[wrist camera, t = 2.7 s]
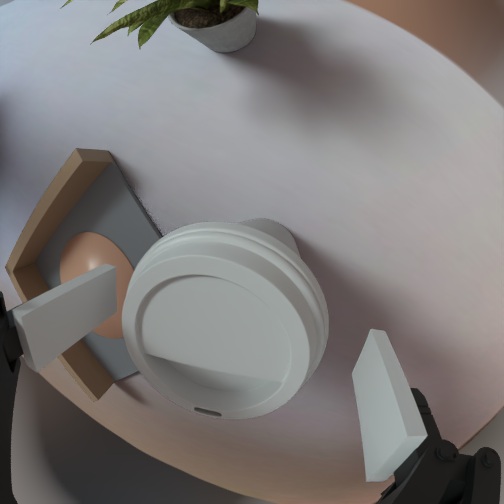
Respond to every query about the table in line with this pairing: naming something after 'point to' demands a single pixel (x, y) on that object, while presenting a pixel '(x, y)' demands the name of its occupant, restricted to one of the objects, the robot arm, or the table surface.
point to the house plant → (194, 21)
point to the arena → (85, 255)
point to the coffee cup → (226, 318)
